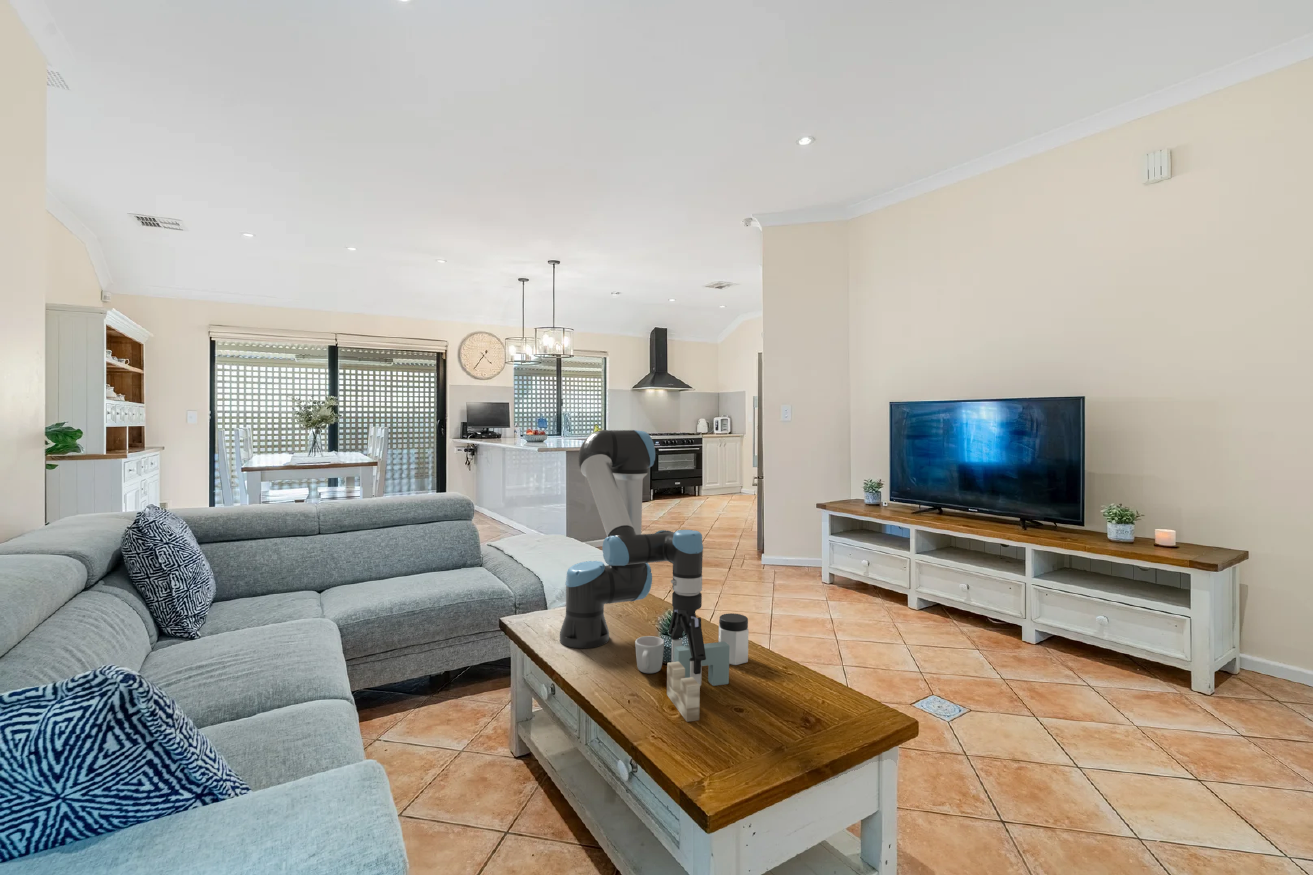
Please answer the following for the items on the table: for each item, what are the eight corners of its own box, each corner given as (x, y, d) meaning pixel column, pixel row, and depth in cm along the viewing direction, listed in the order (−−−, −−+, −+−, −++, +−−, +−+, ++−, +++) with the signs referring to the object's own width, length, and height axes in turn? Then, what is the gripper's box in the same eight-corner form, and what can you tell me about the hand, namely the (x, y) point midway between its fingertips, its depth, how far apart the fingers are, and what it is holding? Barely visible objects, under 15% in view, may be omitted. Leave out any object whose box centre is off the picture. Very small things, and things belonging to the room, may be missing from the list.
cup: (658, 682, 156) (659, 651, 156) (629, 678, 157) (629, 648, 157) (666, 665, 166) (666, 637, 166) (638, 662, 168) (638, 634, 168)
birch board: (666, 694, 149) (667, 662, 148) (678, 692, 150) (678, 661, 149) (686, 721, 135) (687, 686, 135) (699, 719, 136) (699, 685, 136)
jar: (716, 653, 176) (717, 612, 176) (744, 653, 176) (744, 612, 176) (720, 665, 167) (721, 622, 167) (749, 665, 167) (750, 622, 167)
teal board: (673, 685, 154) (674, 646, 154) (723, 678, 158) (724, 641, 158) (677, 690, 151) (678, 651, 151) (728, 683, 155) (729, 645, 155)
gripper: (657, 580, 163) (656, 657, 164) (691, 607, 140) (689, 697, 140) (683, 578, 166) (682, 654, 166) (720, 604, 142) (719, 693, 142)
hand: (685, 674), depth 153 cm, fingers open, 13 cm apart
